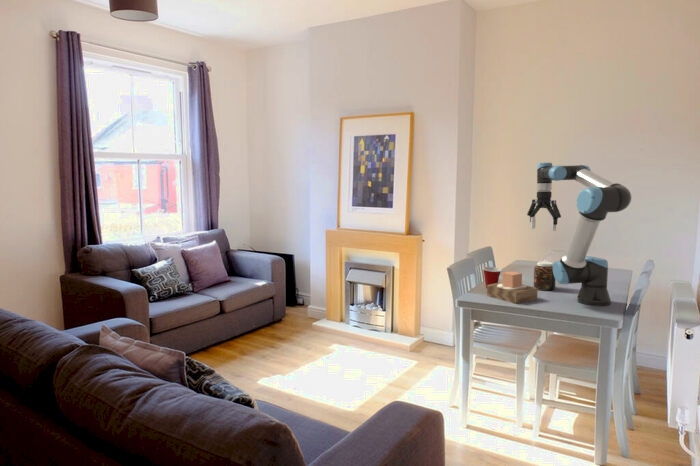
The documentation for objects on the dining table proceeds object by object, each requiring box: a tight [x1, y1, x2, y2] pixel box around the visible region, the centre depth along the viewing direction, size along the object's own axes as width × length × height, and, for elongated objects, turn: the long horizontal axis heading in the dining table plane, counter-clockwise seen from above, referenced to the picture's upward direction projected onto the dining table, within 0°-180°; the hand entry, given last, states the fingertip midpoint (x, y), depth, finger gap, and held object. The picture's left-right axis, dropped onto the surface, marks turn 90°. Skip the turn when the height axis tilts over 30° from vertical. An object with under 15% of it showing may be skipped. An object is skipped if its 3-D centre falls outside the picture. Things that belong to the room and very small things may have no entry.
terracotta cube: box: [501, 271, 523, 288], centre depth 261 cm, size 7×7×7 cm
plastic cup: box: [482, 266, 503, 290], centre depth 282 cm, size 11×11×12 cm
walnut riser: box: [486, 281, 538, 305], centre depth 262 cm, size 20×16×6 cm
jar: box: [533, 261, 557, 292], centre depth 279 cm, size 12×12×15 cm
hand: (543, 229), depth 270 cm, fingers open, 13 cm apart
